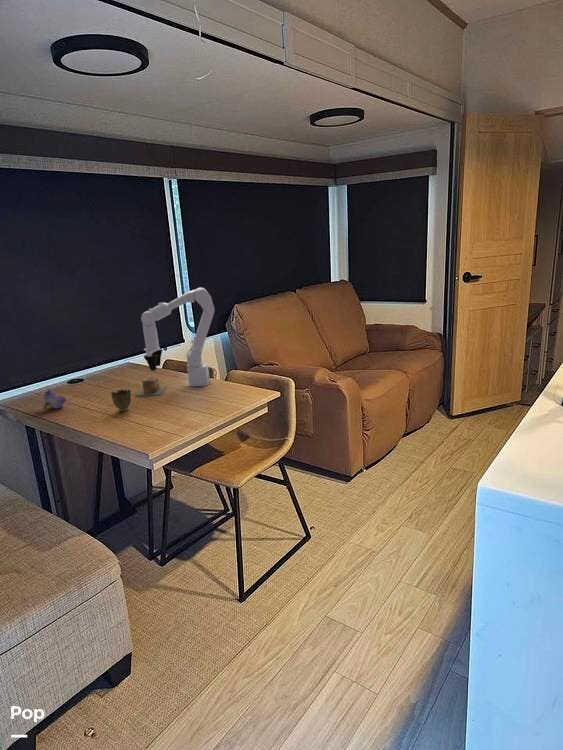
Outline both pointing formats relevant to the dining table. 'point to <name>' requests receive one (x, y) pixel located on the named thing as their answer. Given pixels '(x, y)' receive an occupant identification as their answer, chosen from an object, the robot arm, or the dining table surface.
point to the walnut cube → (150, 385)
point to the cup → (122, 399)
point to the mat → (151, 393)
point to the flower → (53, 400)
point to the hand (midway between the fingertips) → (155, 368)
